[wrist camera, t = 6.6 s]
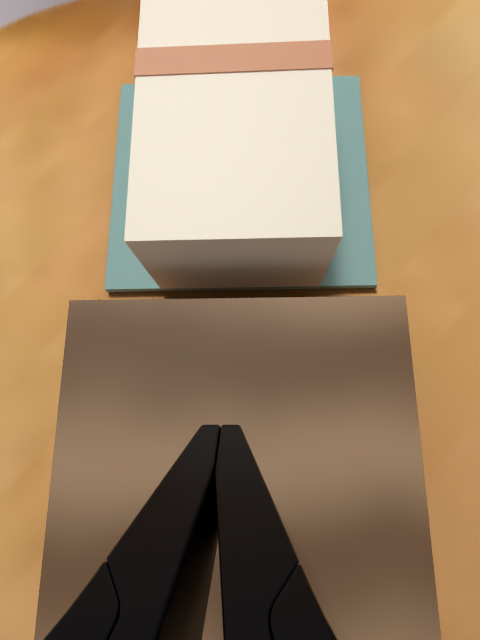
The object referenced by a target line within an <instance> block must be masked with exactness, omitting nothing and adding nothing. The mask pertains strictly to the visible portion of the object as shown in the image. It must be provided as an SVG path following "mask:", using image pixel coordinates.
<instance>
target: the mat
mask: <svg viewBox="0 0 480 640" xmlns="http://www.w3.org/2000/svg"><path fill="white" fill-rule="evenodd" d="M332 82H333V97H334V112H335V127H336V142H337V157H338V172H339V187H340V203H341V218H342V233H343V237H342V239H341V241H340V243H339V246H338V248H337V250H336V252H335V254H334V256H333V258H332V261H331V263H330V265H329V267H328V269H327V271H326V273H325V276H324V278H323V280H322V282H321V284H320V286H297V287H235V288H173V289H160V287H159V286H158V285H157V283H156V282H155V281H154V279H153V278H152V277H151V276H150V274H149V273H148V272H147V270H146V269H145V268H144V266H143V265H142V264H141V263H140V261H139V260H138V259H137V257H136V256H135V255H134V253H133V252H132V251H131V249H130V248H129V247H128V246H127V244H126V243H125V242H124V235H125V221H126V207H127V192H128V178H129V164H130V149H131V135H132V121H133V106H134V92H135V84H124V85H122V86H121V98H120V110H119V122H118V134H117V146H116V158H115V170H114V182H113V195H112V207H111V219H110V231H109V243H108V255H107V267H106V279H105V290H106V291H107V292H147V291H211V290H276V289H340V288H375V287H376V286H377V277H376V266H375V254H374V243H373V231H372V220H371V209H370V197H369V186H368V174H367V163H366V151H365V140H364V128H363V117H362V106H361V94H360V83H359V76H334V77H332Z"/></svg>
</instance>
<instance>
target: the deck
mask: <svg viewBox="0 0 480 640" xmlns="http://www.w3.org/2000/svg"><path fill="white" fill-rule="evenodd" d="M202 425H219V426H220V427H221V426H222V425H240V427H241V428H242V431H243V433H244V435H245V437H246V440H247V442H248V444H249V447H250V449H251V451H252V453H253V456H254V458H255V460H256V463H257V465H258V467H259V469H260V472H261V474H262V476H263V479H264V481H265V483H266V485H267V488H268V490H269V492H270V495H271V497H272V499H273V501H274V504H275V506H276V508H277V511H278V513H279V515H280V517H281V520H282V522H283V524H284V527H285V529H286V531H287V534H288V536H289V538H290V540H291V543H292V545H293V547H294V550H295V552H296V554H297V556H298V559H299V561H300V563H299V564H300V565H302V567H303V570H304V572H305V574H306V576H307V579H308V581H309V583H310V586H311V588H312V590H313V592H314V594H315V596H316V598H317V600H318V602H319V605H320V607H321V609H322V611H323V613H324V615H325V617H326V619H327V621H328V623H329V624H330V626H331V628H332V630H333V632H334V634H335V636H336V637H337V639H338V640H441V633H440V623H439V614H438V604H437V595H436V585H435V575H434V566H433V556H432V547H431V537H430V528H429V518H428V508H427V499H426V489H425V480H424V470H423V460H422V451H421V441H420V432H419V422H418V413H417V403H416V393H415V384H414V374H413V365H412V355H411V345H410V336H409V326H408V317H407V307H406V298H405V296H343V297H275V298H207V299H139V300H71V301H69V310H68V320H67V330H66V339H65V349H64V359H63V368H62V378H61V387H60V397H59V407H58V416H57V426H56V436H55V445H54V455H53V464H52V474H51V484H50V493H49V503H48V512H47V522H46V532H45V541H44V551H43V561H42V570H41V580H40V589H39V599H38V609H37V618H36V628H35V637H34V640H43V639H44V638H45V636H46V635H47V634H48V633H49V632H50V630H51V629H52V628H53V627H54V626H55V624H56V623H57V622H58V621H59V620H60V618H61V617H62V616H63V615H64V614H65V612H66V611H67V610H68V609H69V607H70V606H71V605H72V603H73V602H74V601H75V599H76V598H77V597H78V595H79V594H80V593H81V591H82V590H83V589H84V587H85V586H86V585H87V584H88V582H89V581H90V579H91V578H92V577H93V575H94V574H95V572H96V571H97V570H98V568H99V567H100V565H101V564H102V563H103V562H107V561H106V557H107V556H108V555H109V553H110V552H111V550H112V549H113V548H114V546H115V545H116V543H117V542H118V541H119V539H120V538H121V536H122V535H123V534H124V532H125V531H126V530H127V528H128V527H129V525H130V524H131V523H132V521H133V520H134V518H135V517H136V516H137V514H138V513H139V511H140V510H141V509H142V507H143V506H144V504H145V503H146V502H147V500H148V499H149V497H150V496H151V495H152V493H153V492H154V491H155V489H156V488H157V486H158V485H159V484H160V482H161V481H162V479H163V478H164V477H165V475H166V474H167V472H168V471H169V470H170V468H171V467H172V465H173V464H174V463H175V461H176V460H177V458H178V457H179V456H180V454H181V453H182V452H183V450H184V449H185V447H186V446H187V445H188V443H189V442H190V440H191V439H192V438H193V436H194V435H195V433H196V432H197V431H198V429H199V428H200V427H201V426H202ZM202 640H224V638H223V620H222V601H221V583H220V564H219V546H218V544H217V550H216V556H215V562H214V568H213V574H212V580H211V587H210V593H209V599H208V605H207V611H206V617H205V623H204V629H203V636H202Z"/></svg>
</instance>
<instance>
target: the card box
mask: <svg viewBox="0 0 480 640" xmlns="http://www.w3.org/2000/svg"><path fill="white" fill-rule="evenodd" d="M332 71H333V55H332V41H331V40H330V37H329V22H328V7H327V0H141V6H140V20H139V34H138V48H136V51H135V65H134V77H135V92H134V106H133V121H132V135H131V149H130V164H129V178H128V192H127V207H126V221H125V235H124V242H125V243H126V244H127V246H128V247H129V248H130V249H131V251H132V252H133V253H134V255H135V256H136V257H137V259H138V260H139V261H140V263H141V264H142V265H143V266H144V268H145V269H146V270H147V272H148V273H149V274H150V276H151V277H152V278H153V279H154V281H155V282H156V283H157V285H158V286H159V287H160V289H173V288H235V287H297V286H320V284H321V282H322V280H323V278H324V276H325V273H326V271H327V269H328V267H329V265H330V263H331V261H332V258H333V256H334V254H335V252H336V250H337V248H338V246H339V243H340V241H341V239H342V237H343V233H342V218H341V203H340V187H339V172H338V157H337V142H336V127H335V112H334V97H333V82H332Z"/></svg>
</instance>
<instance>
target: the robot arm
mask: <svg viewBox="0 0 480 640" xmlns="http://www.w3.org/2000/svg"><path fill="white" fill-rule="evenodd" d="M217 544H218V546H219V564H220V583H221V601H222V620H223V638H224V640H338V639H337V637H336V636H335V634H334V632H333V630H332V628H331V626H330V624H329V623H328V621H327V619H326V617H325V615H324V613H323V611H322V609H321V607H320V605H319V602H318V600H317V598H316V596H315V594H314V592H313V590H312V588H311V586H310V583H309V581H308V579H307V576H306V574H305V572H304V570H303V567H302V565H300V564H299V563H300V561H299V559H298V556H297V554H296V552H295V550H294V547H293V545H292V543H291V540H290V538H289V536H288V534H287V531H286V529H285V527H284V524H283V522H282V520H281V517H280V515H279V513H278V511H277V508H276V506H275V504H274V501H273V499H272V497H271V495H270V492H269V490H268V488H267V485H266V483H265V481H264V479H263V476H262V474H261V472H260V469H259V467H258V465H257V463H256V460H255V458H254V456H253V453H252V451H251V449H250V447H249V444H248V442H247V440H246V437H245V435H244V433H243V431H242V428H241V427H240V425H222V426H221V427H220V426H219V425H202V426H201V427H200V428H199V429H198V431H197V432H196V433H195V435H194V436H193V438H192V439H191V440H190V442H189V443H188V445H187V446H186V447H185V449H184V450H183V452H182V453H181V454H180V456H179V457H178V458H177V460H176V461H175V463H174V464H173V465H172V467H171V468H170V470H169V471H168V472H167V474H166V475H165V477H164V478H163V479H162V481H161V482H160V484H159V485H158V486H157V488H156V489H155V491H154V492H153V493H152V495H151V496H150V497H149V499H148V500H147V502H146V503H145V504H144V506H143V507H142V509H141V510H140V511H139V513H138V514H137V516H136V517H135V518H134V520H133V521H132V523H131V524H130V525H129V527H128V528H127V530H126V531H125V532H124V534H123V535H122V536H121V538H120V539H119V541H118V542H117V543H116V545H115V546H114V548H113V549H112V550H111V552H110V553H109V555H108V556H107V557H106V561H107V562H103V563H102V564H101V565H100V567H99V568H98V570H97V571H96V572H95V574H94V575H93V577H92V578H91V579H90V581H89V582H88V584H87V585H86V586H85V587H84V589H83V590H82V591H81V593H80V594H79V595H78V597H77V598H76V599H75V601H74V602H73V603H72V605H71V606H70V607H69V609H68V610H67V611H66V612H65V614H64V615H63V616H62V617H61V618H60V620H59V621H58V622H57V623H56V624H55V626H54V627H53V628H52V629H51V630H50V632H49V633H48V634H47V635H46V636H45V638H44V639H43V640H202V636H203V629H204V623H205V617H206V611H207V605H208V599H209V593H210V587H211V580H212V574H213V568H214V562H215V556H216V550H217Z"/></svg>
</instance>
